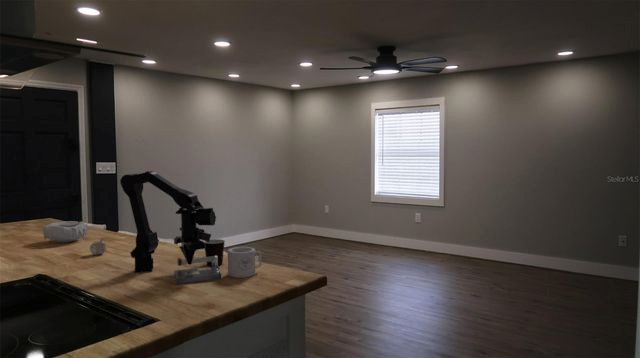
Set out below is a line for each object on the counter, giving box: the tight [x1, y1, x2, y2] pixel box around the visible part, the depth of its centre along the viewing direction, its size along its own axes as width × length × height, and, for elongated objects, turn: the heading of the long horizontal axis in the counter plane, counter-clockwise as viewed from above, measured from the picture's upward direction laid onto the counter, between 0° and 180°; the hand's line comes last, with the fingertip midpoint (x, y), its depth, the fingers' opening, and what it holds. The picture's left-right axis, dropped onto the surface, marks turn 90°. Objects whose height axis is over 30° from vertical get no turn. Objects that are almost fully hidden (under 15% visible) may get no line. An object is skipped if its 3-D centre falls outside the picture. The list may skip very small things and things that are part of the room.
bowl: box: [42, 220, 88, 243], centre depth 233 cm, size 21×20×10 cm
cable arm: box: [177, 255, 219, 268], centre depth 177 cm, size 16×3×5 cm, turn 114°
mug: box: [226, 246, 262, 279], centre depth 174 cm, size 14×11×10 cm
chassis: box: [173, 266, 222, 285], centre depth 169 cm, size 16×12×2 cm
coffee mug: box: [203, 238, 226, 267], centre depth 189 cm, size 12×9×10 cm
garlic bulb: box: [89, 238, 107, 256], centre depth 205 cm, size 7×6×8 cm
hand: (189, 264), depth 174 cm, fingers closed
